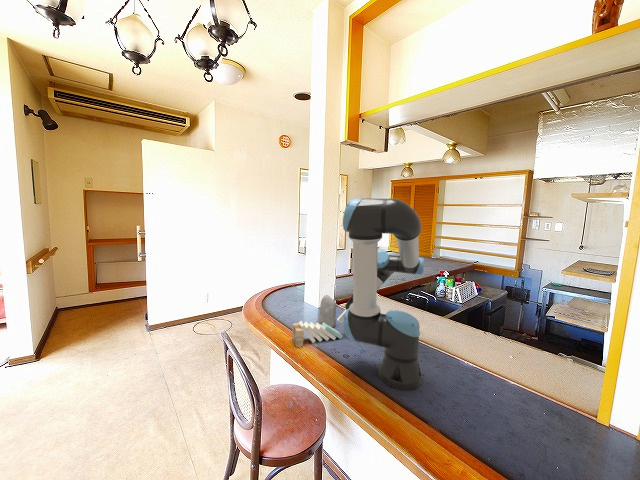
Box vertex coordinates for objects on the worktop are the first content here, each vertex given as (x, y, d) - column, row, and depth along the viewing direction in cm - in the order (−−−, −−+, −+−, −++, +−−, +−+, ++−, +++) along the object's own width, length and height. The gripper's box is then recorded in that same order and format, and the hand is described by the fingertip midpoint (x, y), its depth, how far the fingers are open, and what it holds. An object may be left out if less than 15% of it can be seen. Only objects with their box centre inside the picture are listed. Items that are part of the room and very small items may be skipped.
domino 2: (322, 339, 122) (309, 325, 119) (320, 342, 122) (306, 328, 119) (319, 334, 127) (306, 321, 124) (316, 337, 127) (303, 323, 124)
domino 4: (336, 337, 124) (320, 326, 121) (334, 340, 124) (318, 329, 121) (332, 332, 129) (317, 322, 126) (330, 335, 129) (315, 325, 126)
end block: (303, 346, 118) (303, 330, 117) (296, 347, 117) (296, 331, 116) (298, 338, 125) (298, 322, 125) (292, 339, 124) (292, 323, 124)
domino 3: (329, 338, 123) (314, 326, 120) (327, 341, 123) (312, 328, 120) (325, 333, 128) (311, 321, 125) (323, 336, 128) (309, 324, 125)
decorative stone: (338, 326, 140) (338, 298, 138) (329, 329, 136) (330, 300, 134) (324, 319, 148) (324, 293, 146) (315, 322, 144) (316, 295, 142)
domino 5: (342, 336, 125) (326, 326, 122) (340, 339, 125) (324, 329, 122) (338, 331, 130) (323, 322, 127) (336, 334, 130) (321, 325, 127)
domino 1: (315, 341, 121) (304, 324, 118) (312, 343, 121) (301, 327, 118) (312, 336, 126) (301, 320, 123) (309, 338, 126) (298, 322, 123)
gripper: (383, 294, 125) (349, 332, 122) (369, 286, 138) (338, 321, 134) (373, 283, 123) (339, 322, 120) (360, 276, 135) (329, 311, 132)
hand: (339, 321), depth 127 cm, fingers closed
